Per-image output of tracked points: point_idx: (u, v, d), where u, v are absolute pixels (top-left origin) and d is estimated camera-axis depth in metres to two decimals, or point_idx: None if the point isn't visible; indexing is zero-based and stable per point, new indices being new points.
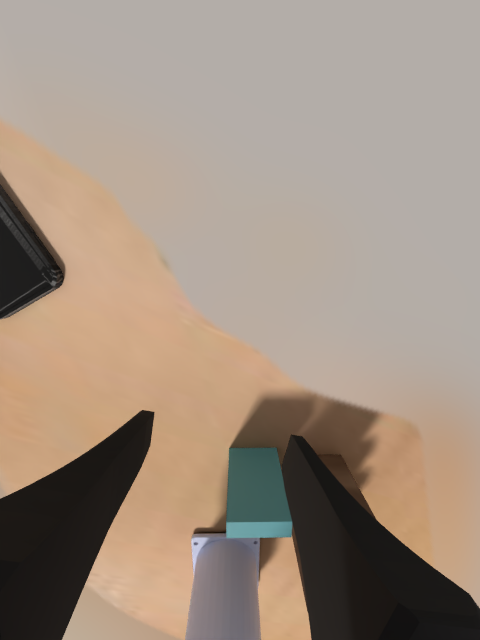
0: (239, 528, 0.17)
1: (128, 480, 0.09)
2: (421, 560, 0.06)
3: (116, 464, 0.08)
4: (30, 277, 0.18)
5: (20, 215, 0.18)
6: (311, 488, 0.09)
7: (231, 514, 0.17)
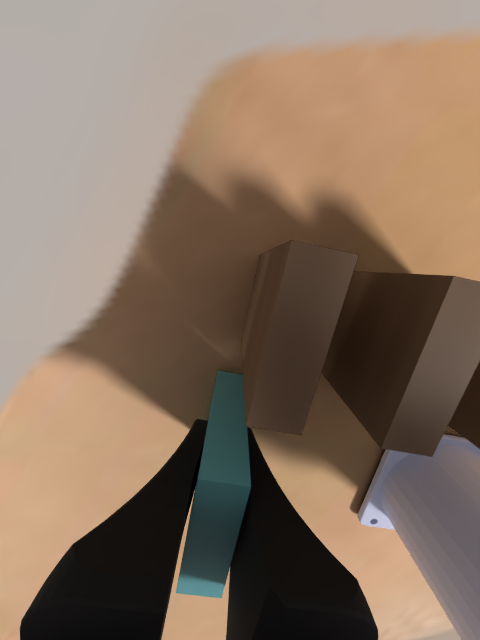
0: (197, 576, 0.07)
1: (193, 489, 0.09)
2: (325, 547, 0.06)
3: (193, 475, 0.08)
4: None
5: None
6: None
7: None
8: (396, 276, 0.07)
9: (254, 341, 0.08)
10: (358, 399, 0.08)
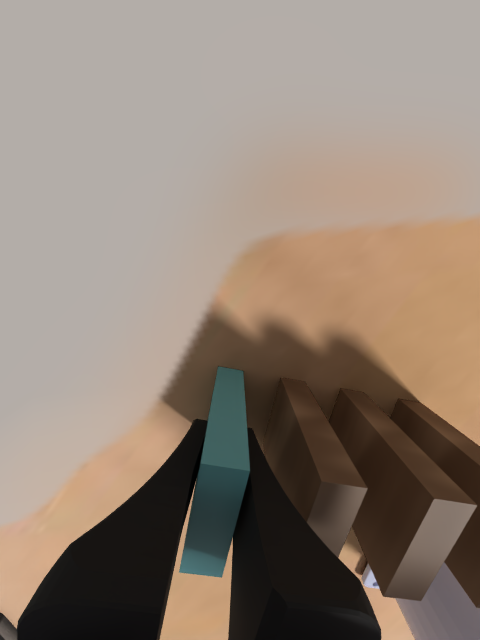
0: (198, 555, 0.08)
1: (192, 489, 0.09)
2: (327, 547, 0.06)
3: (192, 475, 0.08)
4: None
5: None
6: None
7: None
8: (394, 454, 0.09)
9: None
10: (365, 538, 0.10)
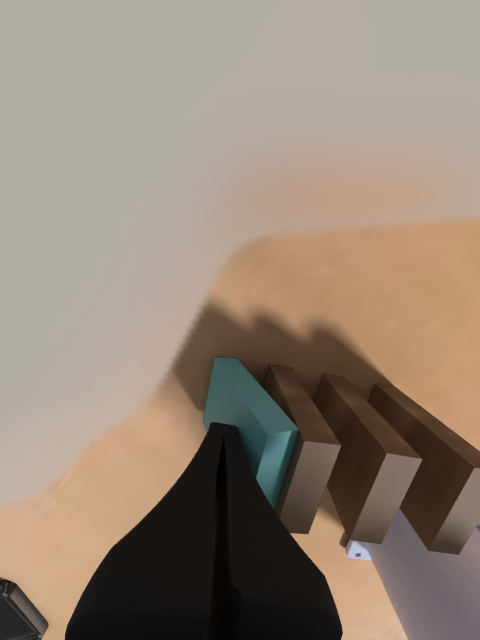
0: None
1: None
2: None
3: None
4: (2, 606, 0.20)
5: None
6: (224, 475, 0.09)
7: None
8: (361, 423, 0.11)
9: None
10: (338, 496, 0.12)
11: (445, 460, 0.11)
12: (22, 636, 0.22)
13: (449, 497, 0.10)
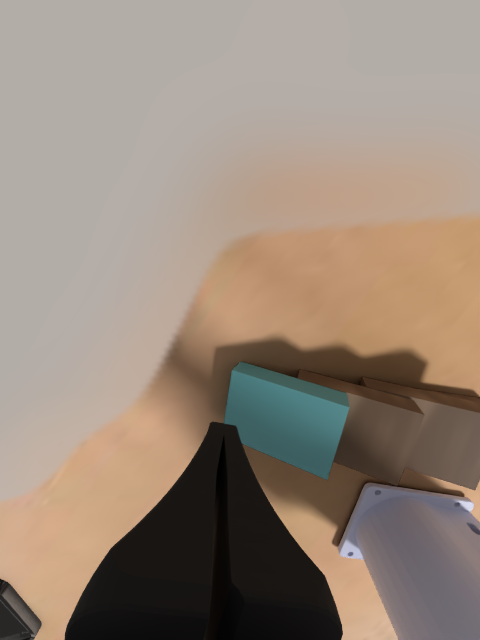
0: None
1: None
2: None
3: None
4: None
5: None
6: (224, 475, 0.09)
7: (319, 471, 0.13)
8: (462, 410, 0.13)
9: (368, 448, 0.14)
10: (446, 472, 0.14)
11: None
12: (15, 635, 0.22)
13: None
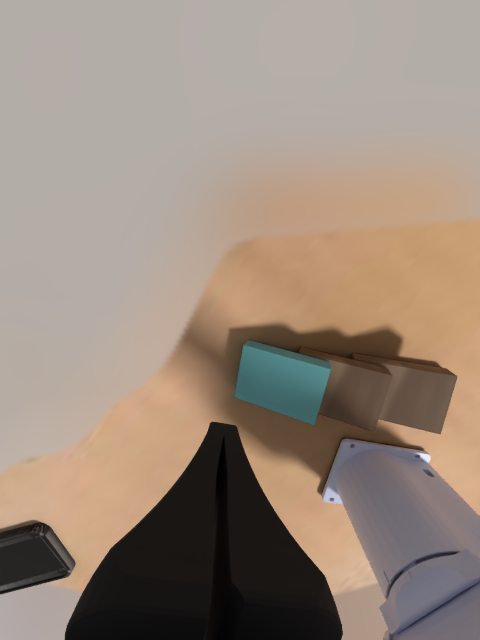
0: None
1: None
2: None
3: None
4: (38, 544, 0.25)
5: None
6: (224, 475, 0.09)
7: (308, 419, 0.18)
8: (426, 372, 0.17)
9: (352, 403, 0.18)
10: (418, 422, 0.18)
11: None
12: (54, 571, 0.26)
13: None
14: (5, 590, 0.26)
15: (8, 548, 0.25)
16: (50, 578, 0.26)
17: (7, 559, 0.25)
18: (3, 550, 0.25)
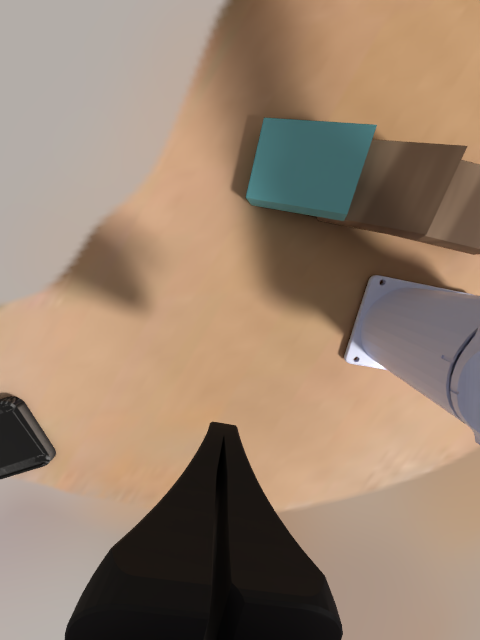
0: None
1: None
2: (297, 543, 0.06)
3: None
4: (10, 421, 0.21)
5: None
6: (224, 475, 0.09)
7: (340, 206, 0.14)
8: None
9: (403, 198, 0.14)
10: None
11: None
12: (31, 459, 0.22)
13: None
14: None
15: None
16: (26, 467, 0.22)
17: None
18: None
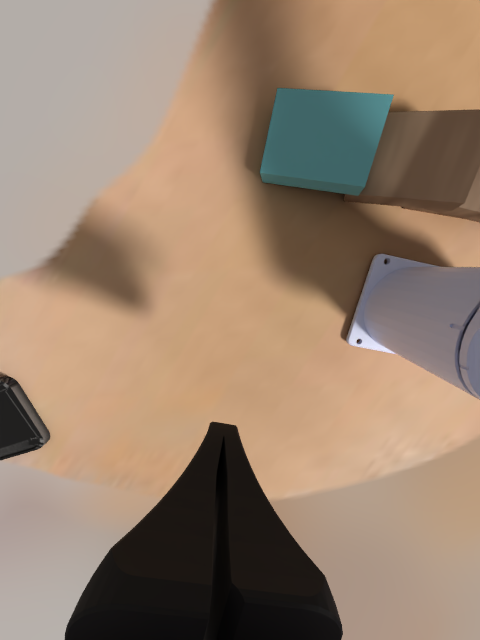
0: None
1: None
2: None
3: None
4: (3, 402, 0.21)
5: None
6: (224, 475, 0.09)
7: (358, 179, 0.14)
8: None
9: (437, 169, 0.14)
10: None
11: None
12: (24, 441, 0.22)
13: None
14: None
15: None
16: (19, 450, 0.22)
17: None
18: None
